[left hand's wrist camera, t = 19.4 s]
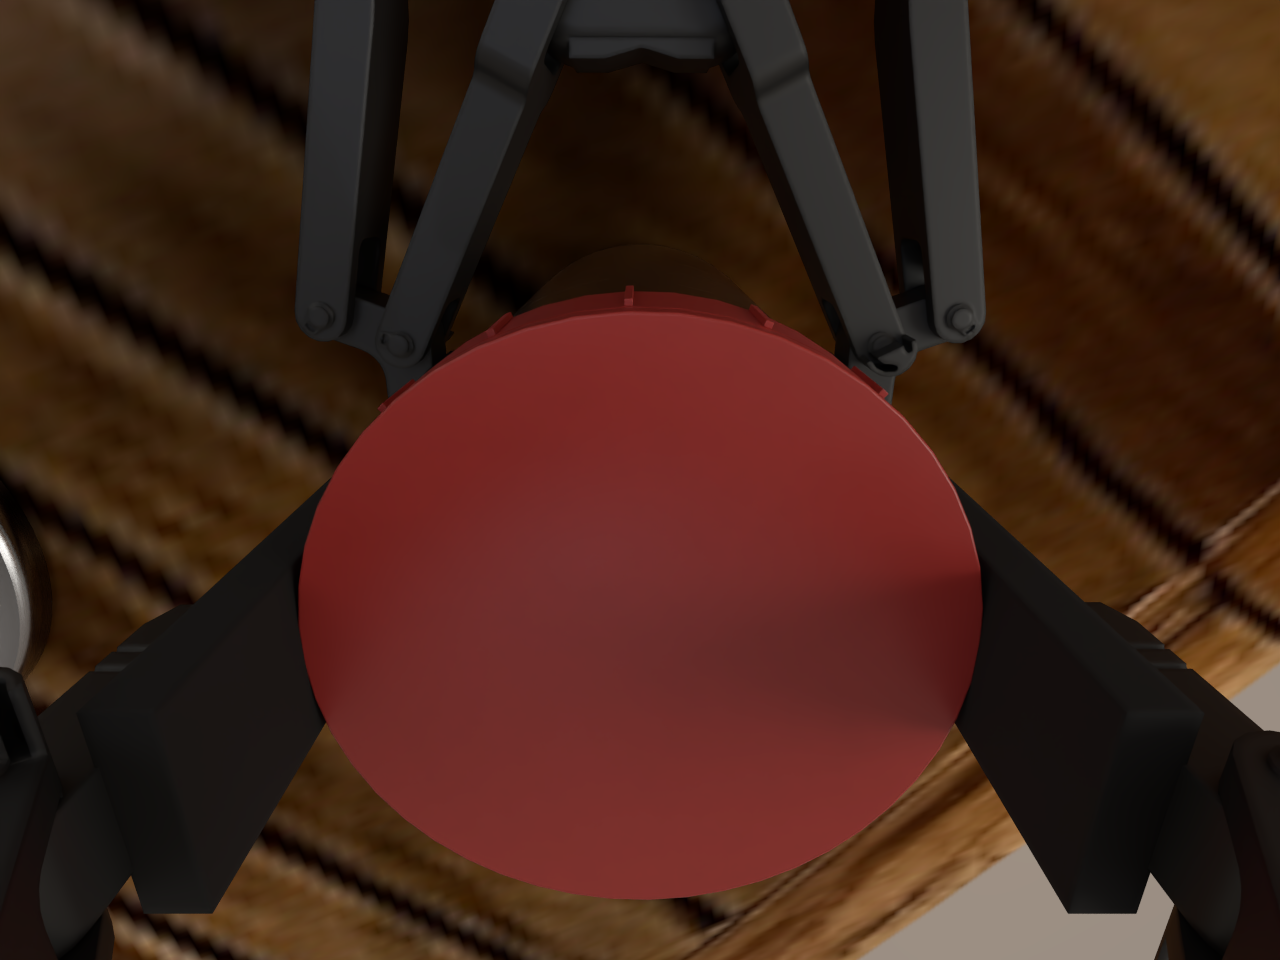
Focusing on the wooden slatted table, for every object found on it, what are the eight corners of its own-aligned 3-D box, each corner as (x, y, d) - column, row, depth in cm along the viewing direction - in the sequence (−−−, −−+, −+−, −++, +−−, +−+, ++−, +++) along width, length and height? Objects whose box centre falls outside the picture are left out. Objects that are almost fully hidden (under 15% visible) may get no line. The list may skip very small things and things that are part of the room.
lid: (291, 295, 10) (216, 316, 9) (972, 273, 10) (1044, 290, 8) (392, 813, 14) (356, 907, 12) (904, 802, 14) (944, 894, 12)
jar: (775, 487, 27) (932, 830, 12) (532, 510, 27) (409, 870, 13) (764, 229, 24) (960, 286, 9) (489, 259, 24) (259, 360, 10)
